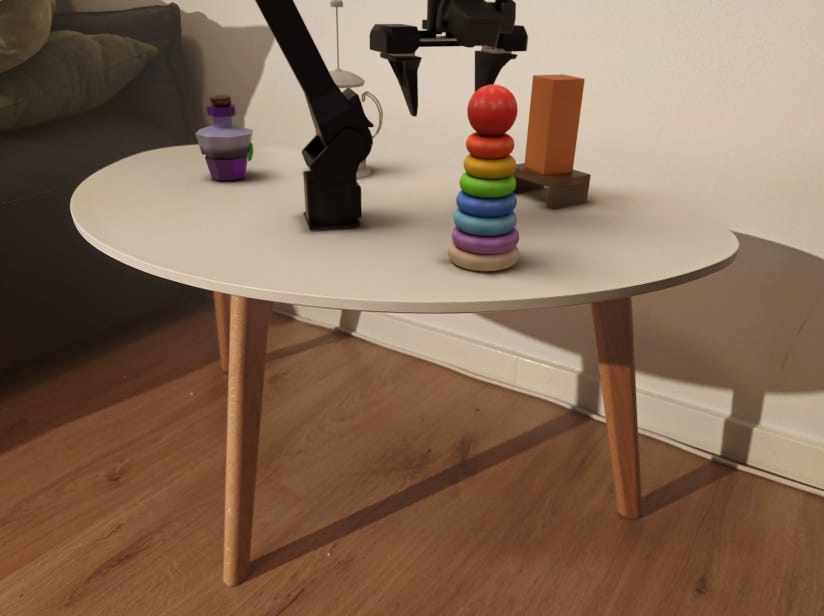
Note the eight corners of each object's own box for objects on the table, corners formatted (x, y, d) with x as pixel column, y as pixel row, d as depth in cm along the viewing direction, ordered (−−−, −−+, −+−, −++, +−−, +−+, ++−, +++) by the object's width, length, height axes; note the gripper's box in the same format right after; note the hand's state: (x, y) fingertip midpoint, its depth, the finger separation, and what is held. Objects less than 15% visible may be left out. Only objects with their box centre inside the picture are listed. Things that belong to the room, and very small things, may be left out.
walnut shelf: (552, 209, 97) (555, 180, 95) (504, 192, 104) (506, 165, 102) (587, 202, 101) (591, 174, 99) (538, 186, 108) (541, 160, 106)
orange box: (543, 175, 98) (554, 80, 92) (524, 167, 102) (532, 75, 96) (572, 172, 100) (585, 78, 94) (552, 164, 104) (562, 74, 98)
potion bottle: (264, 181, 107) (257, 98, 101) (206, 187, 103) (196, 101, 97) (249, 168, 113) (242, 90, 108) (195, 173, 110) (184, 92, 104)
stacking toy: (443, 249, 82) (450, 78, 73) (509, 248, 83) (525, 79, 74) (452, 274, 75) (462, 89, 66) (525, 273, 76) (544, 90, 67)
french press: (319, 162, 118) (312, -4, 106) (387, 166, 117) (387, -2, 105) (303, 177, 109) (293, -3, 97) (376, 181, 108) (375, 0, 96)
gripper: (408, -31, 70) (405, 130, 77) (561, -26, 77) (546, 121, 85) (367, -31, 79) (368, 114, 86) (508, -27, 86) (498, 106, 93)
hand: (447, 114), depth 87 cm, fingers open, 9 cm apart
